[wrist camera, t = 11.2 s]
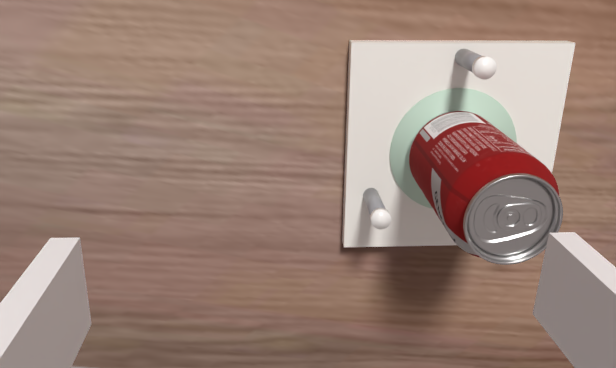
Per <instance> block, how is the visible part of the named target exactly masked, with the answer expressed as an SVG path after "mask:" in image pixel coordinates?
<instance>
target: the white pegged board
mask: <svg viewBox="0 0 616 368" xmlns="http://www.w3.org/2000/svg"><path fill="white" fill-rule="evenodd" d="M574 48H575V43H574V42H570V41H458V40H349V62H348V90H347V118H346V145H345V173H344V201H343V229H342V242H343V246H344V247H389V246H444V245H457V244H456V243H455V242H454V241H453V240H452V238H451V237H450V235H449V234H448V232H447V230H446V229H445V227H444V226H443V224H442V222H441V221H440V219H439V218H438V216H437V215H436V213H435V211H434V210H433V208H432V207H431V205H430V203H429V202H428V200H427V199H426V197H425V195H424V194H423V192H422V191H421V189H420V187H419V186H418V184H417V183H416V181H415V179H414V178H413V176H412V174H411V171H410V167H409V151H410V147H411V144H412V141H413V139H414V137H415V136H416V134H417V132H418V131H419V130H420V129H421V128H422V126H423V125H425V124H426V123H427V122H428V121H429V120H431V119H432V118H434V117H436V116H438V115H440V114H443V113H446V112H450V111H468V112H472V113H475V114H477V115H479V116H481V117H483V118H484V119H486V120H487V121H488V122H490V123H491V124H492V125H493V126H495V127H496V128H497V129H499V130H500V131H501V132H503V133H504V134H505V135H506V136H508V137H509V138H510V139H512V140H513V141H514V142H516V143H517V144H518V145H519V146H521V147H522V148H523V149H525V150H526V151H527V152H529V153H530V154H531V155H533V156H534V157H535V158H536V159H538V160H539V161H540V162H542V163H543V164H544V165H545V166H546V167H547V168H548V169H549V170H550V172H551V173H552V170H553V164H554V159H555V153H556V147H557V142H558V136H559V131H560V125H561V120H562V114H563V109H564V103H565V98H566V92H567V86H568V81H569V75H570V70H571V64H572V59H573V53H574Z"/></svg>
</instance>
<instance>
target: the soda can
mask: <svg viewBox="0 0 616 368" xmlns="http://www.w3.org/2000/svg"><path fill="white" fill-rule="evenodd" d="M409 167H410V171H411V174H412V176H413V178H414V179H415V181H416V183H417V184H418V186H419V187H420V189H421V191H422V192H423V194H424V195H425V197H426V199H427V200H428V202H429V203H430V205H431V207H432V208H433V210H434V211H435V213H436V215H437V216H438V218H439V219H440V221H441V222H442V224H443V226H444V227H445V229H446V230H447V232H448V234H449V235H450V237H451V238H452V240H453V241H454V242H455V243H456V244H457V245H458V246H459V247H460V248H461V249H463V250H464V251H466V252H467V253H469V254H471V255H474V256H477V257H481V258H483V259H484V260H487V261H489V262H492V263H496V264H504V265H506V264H516V263H520V262H524V261H526V260H529V259H531V258H533V257H535V256H537V255H538V254H540V253H541V252H542V251H543V250H545V249H546V246H547V241H548V236H549V233H558V231H559V229H560V226H561V223H562V218H563V208H562V203H561V199H560V197H559V191H558V186H557V183H556V180H555V178H554V176H553V175H552V173H551V172H550V170H549V169H548V168H547V167H546V166H545V165H544V164H543V163H542V162H540V161H539V160H538V159H536V158H535V157H534V156H533V155H531V154H530V153H529V152H527V151H526V150H525V149H523V148H522V147H521V146H519V145H518V144H517V143H516V142H514V141H513V140H512V139H510V138H509V137H508V136H506V135H505V134H504V133H503V132H501V131H500V130H499V129H497V128H496V127H495V126H493V125H492V124H491V123H490V122H488V121H487V120H486V119H484V118H483V117H481V116H479V115H477V114H475V113H472V112H468V111H450V112H446V113H443V114H440V115H438V116H436V117H434V118H432V119H431V120H429V121H428V122H427V123H426V124H425V125H423V126H422V128H421V129H420V130H419V131H418V132H417V134H416V136H415V137H414V139H413V141H412V144H411V147H410V151H409Z"/></svg>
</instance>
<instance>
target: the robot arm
mask: <svg viewBox="0 0 616 368" xmlns="http://www.w3.org/2000/svg"><path fill="white" fill-rule="evenodd" d="M533 315H534V316H535V317H536V319H537V320H538V321H539V323H540V324H541V325H542V326H543V328H544V329H545V330H546V332H547V333H548V334H549V335H550V337H551V338H552V339H553V340H554V342H555V343H556V344H557V346H558V347H559V348H560V349H561V351H562V352H563V353H564V355H565V356H566V357H567V358H568V360H569V361H570V362H571V364H572V365H573V366H574V367H575V368H616V267H615V266H613V265H612V264H611V263H610V262H609V261H608V260H606V259H605V258H604V257H603V256H602V255H601V254H599V253H598V252H597V251H596V250H595V249H594V248H592V247H591V246H590V245H589V244H588V243H586V242H585V241H584V240H583V239H582V238H581V237H579V236H578V235H577V234H576V233H575V232H561V233H549V236H548V241H547V246H546V251H545V255H544V260H543V265H542V270H541V275H540V280H539V285H538V290H537V295H536V300H535V305H534V310H533ZM90 326H91V317H90V309H89V302H88V294H87V287H86V280H85V272H84V265H83V257H82V250H81V242H80V238H50V239H49V241H48V242H47V243H46V244H45V246H44V247H43V248H42V250H41V251H40V252H39V254H38V255H37V256H36V257H35V259H34V260H33V261H32V263H31V264H30V265H29V267H28V268H27V269H26V270H25V272H24V273H23V274H22V276H21V277H20V278H19V280H18V281H17V282H16V284H15V285H14V286H13V287H12V289H11V290H10V291H9V293H8V294H7V295H6V297H5V298H4V299H3V300H2V302H1V303H0V368H71V366H72V364H73V362H74V360H75V358H76V356H77V354H78V352H79V349H80V347H81V345H82V343H83V341H84V339H85V337H86V335H87V332H88V330H89V328H90Z"/></svg>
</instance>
